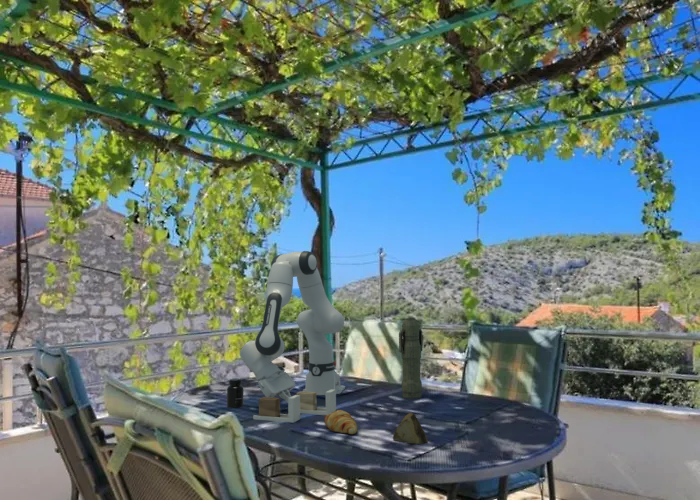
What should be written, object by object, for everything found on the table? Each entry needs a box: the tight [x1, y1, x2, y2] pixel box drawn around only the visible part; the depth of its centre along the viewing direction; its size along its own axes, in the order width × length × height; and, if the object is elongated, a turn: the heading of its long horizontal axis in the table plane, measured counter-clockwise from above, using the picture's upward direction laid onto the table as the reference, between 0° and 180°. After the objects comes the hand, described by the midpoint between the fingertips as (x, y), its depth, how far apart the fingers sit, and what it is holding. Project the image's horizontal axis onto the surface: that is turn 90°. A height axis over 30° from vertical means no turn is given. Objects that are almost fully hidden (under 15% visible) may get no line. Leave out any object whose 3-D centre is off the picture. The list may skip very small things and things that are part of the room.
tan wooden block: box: [295, 390, 318, 411], centre depth 230 cm, size 4×7×8 cm, turn 69°
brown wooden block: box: [258, 396, 281, 417], centre depth 220 cm, size 4×7×8 cm, turn 69°
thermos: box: [398, 318, 424, 400], centre depth 260 cm, size 9×12×35 cm
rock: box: [392, 412, 429, 445], centre depth 191 cm, size 11×9×10 cm
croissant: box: [324, 409, 358, 435], centre depth 207 cm, size 21×10×8 cm, turn 31°
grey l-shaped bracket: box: [252, 394, 301, 423], centre depth 219 cm, size 6×17×10 cm, turn 69°
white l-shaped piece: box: [300, 389, 337, 416], centre depth 229 cm, size 6×17×10 cm, turn 69°
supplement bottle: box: [226, 378, 244, 409], centre depth 243 cm, size 7×7×12 cm
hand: (290, 400), depth 232 cm, fingers closed
